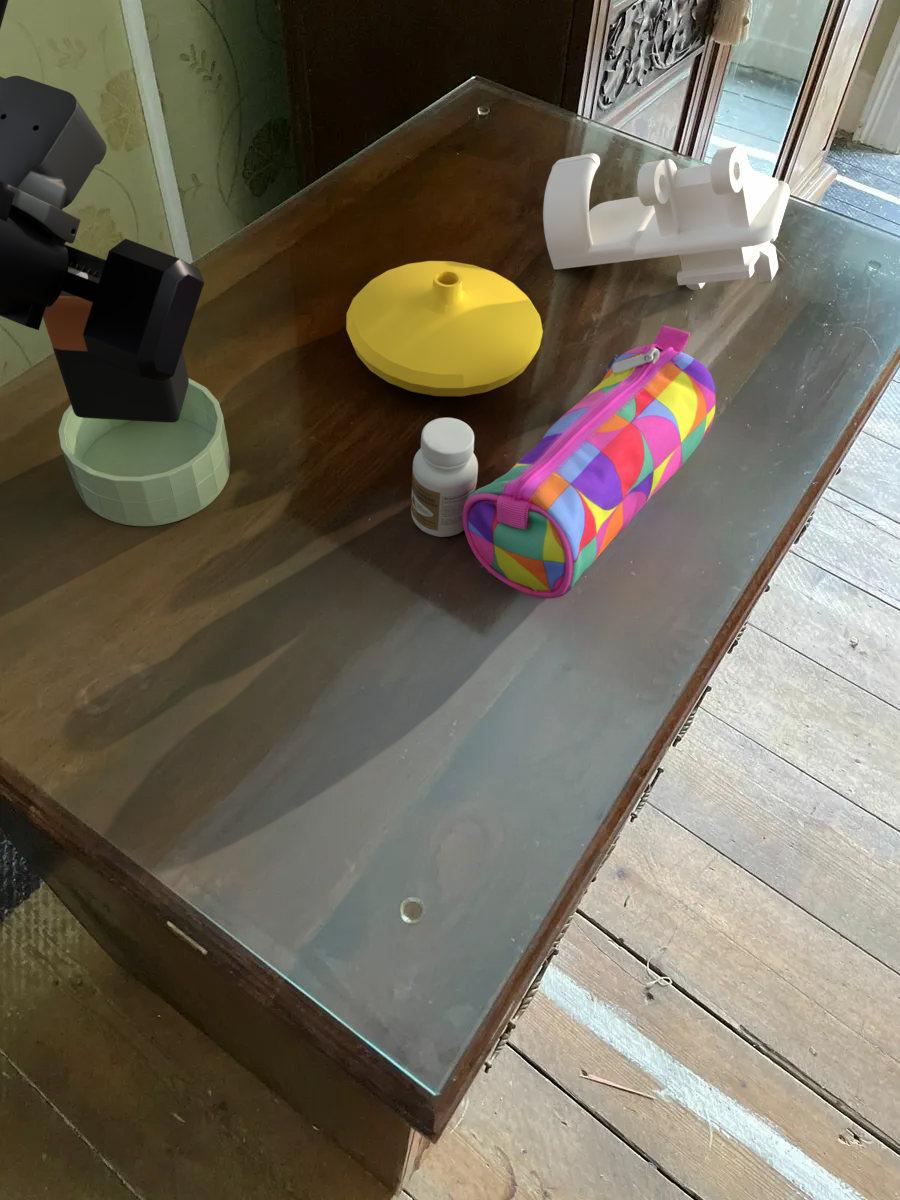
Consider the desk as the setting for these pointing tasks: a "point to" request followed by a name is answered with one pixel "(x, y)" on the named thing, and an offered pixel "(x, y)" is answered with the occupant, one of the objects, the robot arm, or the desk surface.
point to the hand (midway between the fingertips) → (126, 306)
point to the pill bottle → (443, 476)
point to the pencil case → (593, 469)
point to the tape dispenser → (670, 218)
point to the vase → (444, 328)
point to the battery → (107, 371)
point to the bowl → (149, 462)
